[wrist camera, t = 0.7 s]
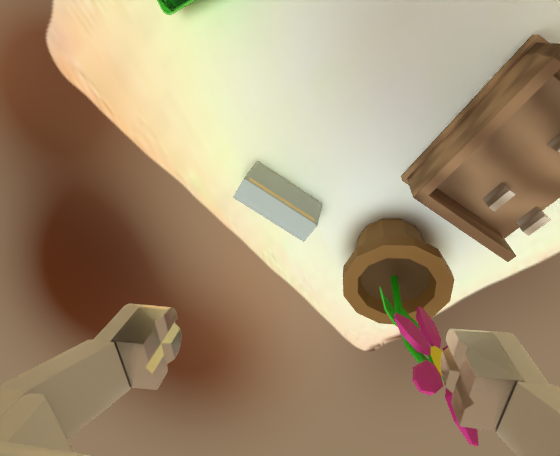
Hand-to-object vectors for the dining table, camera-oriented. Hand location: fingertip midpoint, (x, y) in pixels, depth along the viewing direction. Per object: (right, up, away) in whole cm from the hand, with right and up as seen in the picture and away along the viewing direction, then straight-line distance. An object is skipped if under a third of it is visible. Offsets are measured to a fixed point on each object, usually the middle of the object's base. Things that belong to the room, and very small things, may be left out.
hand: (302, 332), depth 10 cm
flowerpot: (+17, 0, +42) cm, 45 cm away
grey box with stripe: (0, +9, +41) cm, 42 cm away
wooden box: (+28, +13, +31) cm, 44 cm away
